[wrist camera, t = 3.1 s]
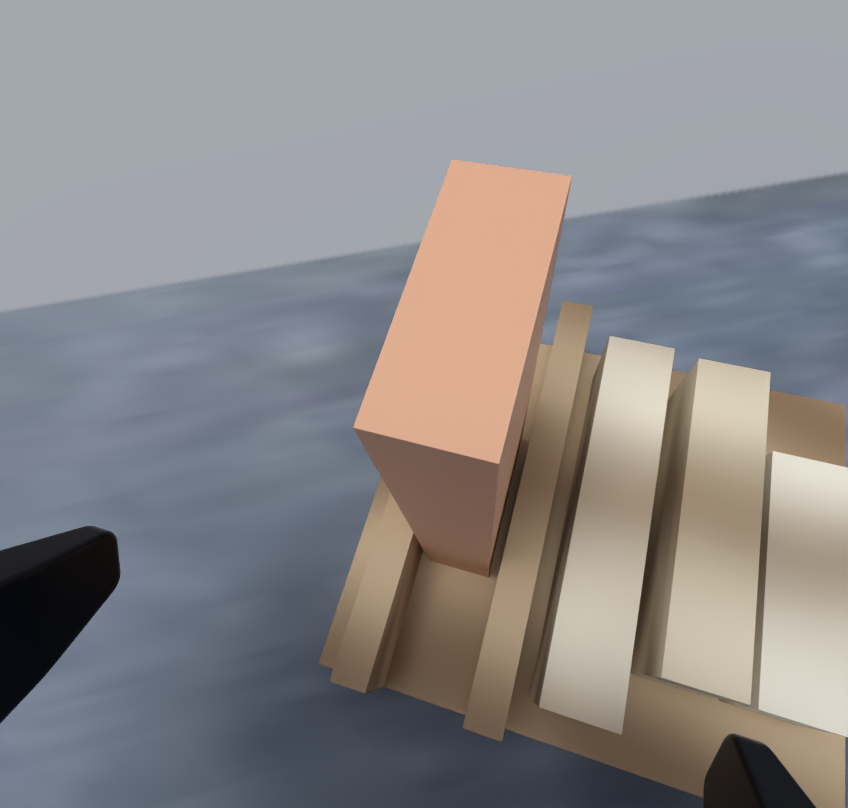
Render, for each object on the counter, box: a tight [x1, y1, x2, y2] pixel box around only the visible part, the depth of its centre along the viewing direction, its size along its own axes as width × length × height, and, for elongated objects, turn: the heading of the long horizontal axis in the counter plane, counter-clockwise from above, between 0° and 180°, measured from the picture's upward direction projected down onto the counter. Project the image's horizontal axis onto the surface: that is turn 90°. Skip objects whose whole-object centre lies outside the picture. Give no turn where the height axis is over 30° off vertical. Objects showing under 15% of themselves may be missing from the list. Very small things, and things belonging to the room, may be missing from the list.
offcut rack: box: [318, 301, 848, 808], centre depth 17 cm, size 13×15×5 cm
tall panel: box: [353, 160, 572, 578], centre depth 14 cm, size 5×2×12 cm, turn 164°
